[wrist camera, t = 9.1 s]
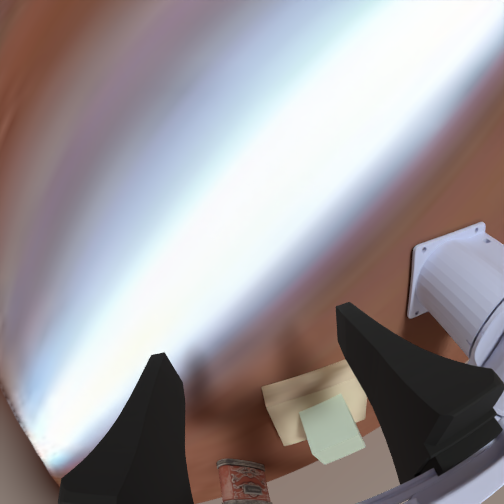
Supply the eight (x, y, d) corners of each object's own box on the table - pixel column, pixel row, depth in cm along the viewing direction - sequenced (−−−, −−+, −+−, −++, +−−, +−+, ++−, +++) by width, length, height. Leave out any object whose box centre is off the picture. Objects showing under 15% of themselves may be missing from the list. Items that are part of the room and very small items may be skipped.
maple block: (356, 351, 28) (368, 372, 25) (356, 400, 33) (365, 418, 30) (260, 383, 28) (265, 407, 25) (279, 426, 33) (284, 446, 30)
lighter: (269, 464, 37) (282, 520, 28) (254, 472, 38) (265, 525, 29) (225, 456, 34) (235, 520, 25) (211, 464, 35) (218, 524, 26)
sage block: (340, 393, 26) (358, 433, 22) (349, 410, 28) (365, 446, 24) (298, 412, 27) (312, 453, 22) (312, 427, 29) (324, 464, 24)
